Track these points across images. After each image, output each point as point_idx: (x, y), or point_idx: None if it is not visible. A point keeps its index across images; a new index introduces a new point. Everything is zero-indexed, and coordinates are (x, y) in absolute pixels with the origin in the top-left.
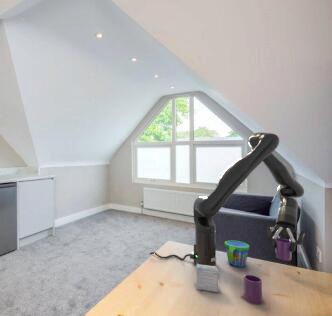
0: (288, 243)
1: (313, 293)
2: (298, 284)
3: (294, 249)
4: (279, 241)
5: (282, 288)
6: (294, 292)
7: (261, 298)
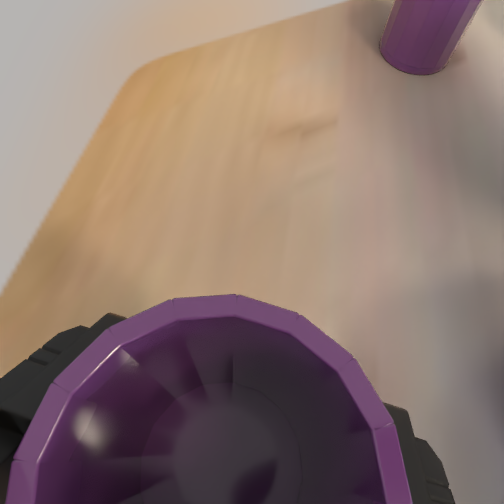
0: (135, 322)
1: (117, 209)
2: (164, 299)
3: (66, 335)
4: (322, 334)
5: (276, 200)
6: (221, 180)
7: (387, 19)
